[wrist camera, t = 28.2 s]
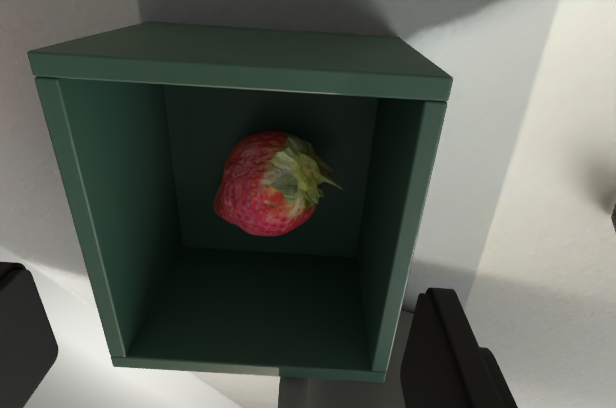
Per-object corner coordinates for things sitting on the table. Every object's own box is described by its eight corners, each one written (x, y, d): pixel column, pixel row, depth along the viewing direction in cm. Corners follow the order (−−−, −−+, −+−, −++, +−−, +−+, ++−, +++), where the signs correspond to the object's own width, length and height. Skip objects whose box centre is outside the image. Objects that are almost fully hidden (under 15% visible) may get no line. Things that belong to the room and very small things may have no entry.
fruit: (188, 159, 18) (147, 215, 14) (299, 93, 17) (292, 133, 12) (241, 227, 20) (220, 296, 16) (347, 173, 18) (355, 232, 14)
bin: (146, 21, 16) (24, 50, 9) (399, 37, 16) (454, 77, 10) (176, 248, 22) (112, 367, 15) (365, 259, 22) (384, 383, 15)
